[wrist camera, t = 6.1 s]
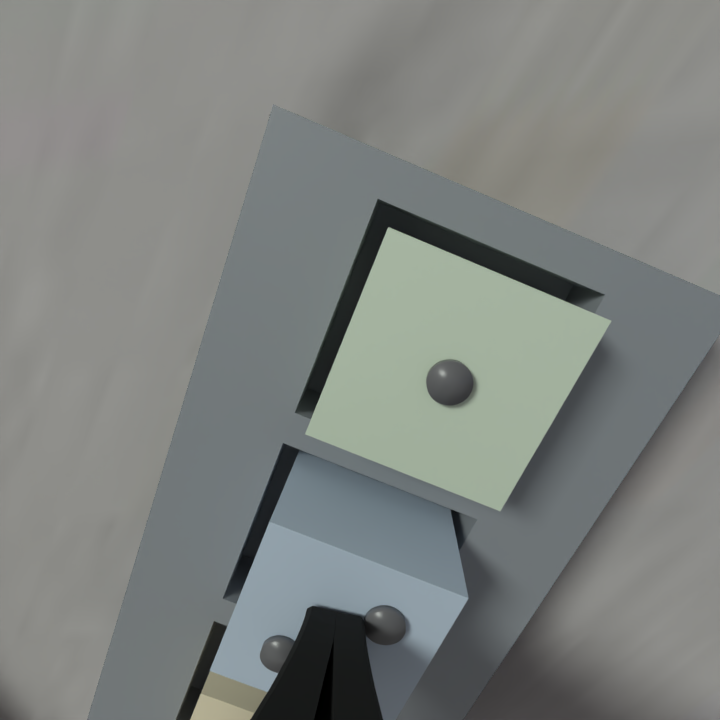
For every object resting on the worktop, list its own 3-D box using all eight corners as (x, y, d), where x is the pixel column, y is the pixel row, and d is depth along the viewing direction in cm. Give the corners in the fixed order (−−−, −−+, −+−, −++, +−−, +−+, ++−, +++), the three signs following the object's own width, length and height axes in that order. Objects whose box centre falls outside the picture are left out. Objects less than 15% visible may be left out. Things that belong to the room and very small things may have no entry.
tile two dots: (450, 509, 14) (469, 605, 10) (387, 625, 15) (385, 744, 12) (299, 450, 14) (267, 527, 10) (250, 572, 15) (206, 678, 12)
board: (677, 290, 13) (740, 303, 11) (386, 762, 20) (385, 836, 17) (295, 127, 13) (273, 104, 10) (123, 666, 19) (84, 729, 17)
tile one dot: (554, 296, 13) (615, 322, 9) (474, 444, 14) (502, 516, 11) (389, 227, 12) (387, 226, 9) (326, 384, 14) (303, 438, 10)
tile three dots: (366, 646, 17) (359, 759, 13) (320, 733, 18) (302, 856, 15) (239, 598, 16) (197, 700, 13) (202, 691, 18) (155, 805, 14)
